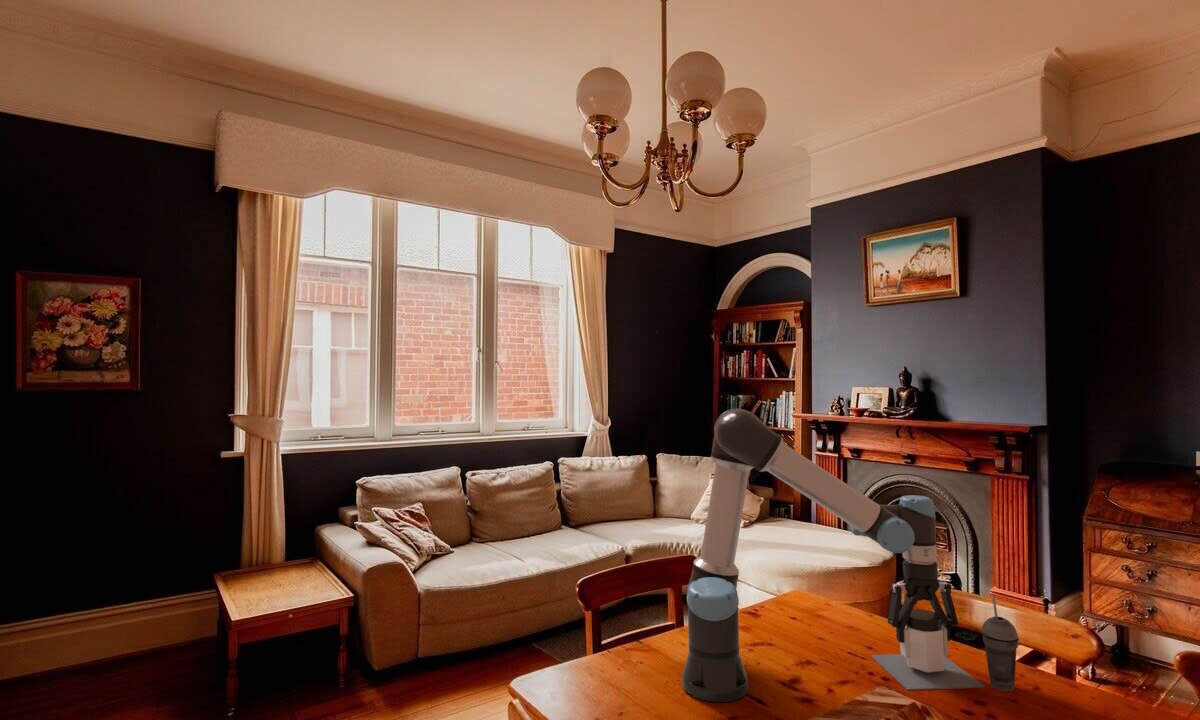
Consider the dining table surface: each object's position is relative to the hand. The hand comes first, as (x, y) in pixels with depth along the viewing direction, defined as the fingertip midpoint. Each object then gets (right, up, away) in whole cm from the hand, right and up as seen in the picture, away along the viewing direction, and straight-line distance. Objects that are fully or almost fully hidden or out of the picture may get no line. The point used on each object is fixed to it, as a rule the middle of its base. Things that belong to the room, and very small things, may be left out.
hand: (924, 654), depth 152 cm
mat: (0, -4, 0) cm, 4 cm away
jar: (0, -3, 0) cm, 3 cm away
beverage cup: (+13, -3, -9) cm, 16 cm away
